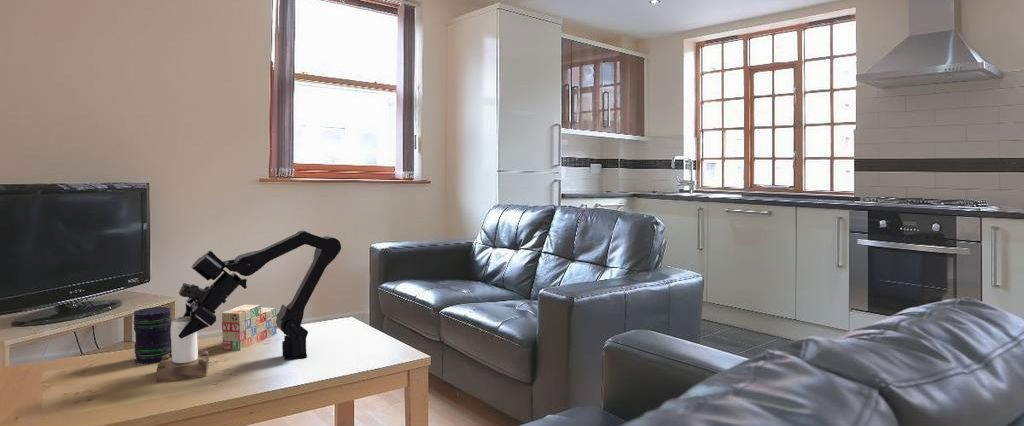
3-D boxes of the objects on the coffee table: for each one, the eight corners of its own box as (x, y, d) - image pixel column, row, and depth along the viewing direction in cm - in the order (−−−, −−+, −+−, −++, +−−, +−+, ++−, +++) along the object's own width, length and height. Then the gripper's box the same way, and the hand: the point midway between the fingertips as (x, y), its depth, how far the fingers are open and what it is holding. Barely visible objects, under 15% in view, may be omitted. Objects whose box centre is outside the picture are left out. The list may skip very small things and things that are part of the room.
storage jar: (175, 353, 195) (173, 306, 194) (169, 362, 186) (167, 313, 185) (139, 356, 192) (137, 308, 191) (131, 365, 183) (129, 315, 182)
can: (185, 356, 180) (183, 315, 179) (203, 358, 178) (201, 317, 178) (166, 362, 174) (165, 320, 173) (185, 365, 172) (183, 322, 171)
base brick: (209, 365, 183) (208, 350, 183) (206, 376, 174) (205, 360, 173) (162, 370, 178) (162, 355, 178) (157, 381, 169) (156, 365, 169)
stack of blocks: (260, 332, 221) (259, 298, 220) (276, 333, 220) (276, 299, 219) (222, 349, 200) (221, 311, 199) (240, 351, 199) (239, 312, 198)
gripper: (193, 268, 184) (151, 309, 179) (201, 277, 169) (156, 323, 163) (223, 292, 189) (183, 333, 184) (233, 303, 173) (190, 348, 168)
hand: (178, 333), depth 175 cm, fingers open, 9 cm apart
